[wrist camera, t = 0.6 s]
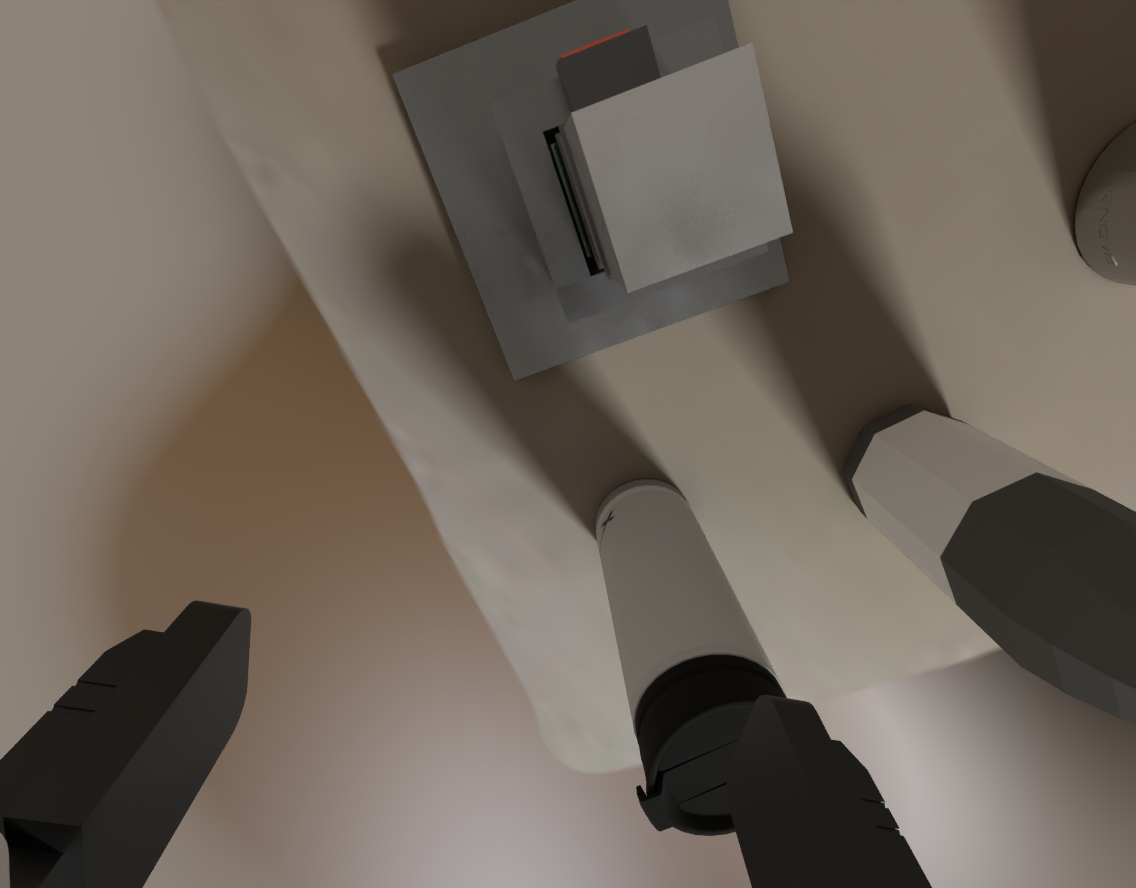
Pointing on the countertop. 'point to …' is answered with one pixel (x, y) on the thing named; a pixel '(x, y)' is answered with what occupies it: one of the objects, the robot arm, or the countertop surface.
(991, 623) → the wine bottle
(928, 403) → the countertop surface
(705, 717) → the travel mug
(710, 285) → the stepped pedestal base
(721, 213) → the block
